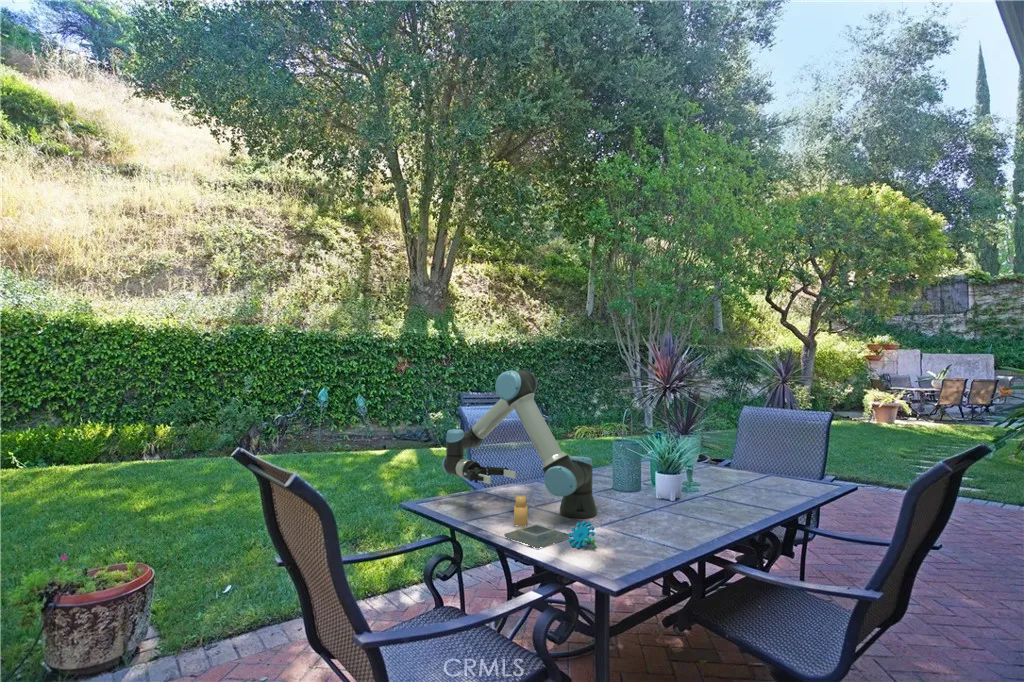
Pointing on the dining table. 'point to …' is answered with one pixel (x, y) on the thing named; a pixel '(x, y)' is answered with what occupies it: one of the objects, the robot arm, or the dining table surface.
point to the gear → (582, 535)
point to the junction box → (537, 535)
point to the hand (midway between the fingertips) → (503, 477)
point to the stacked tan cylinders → (520, 511)
